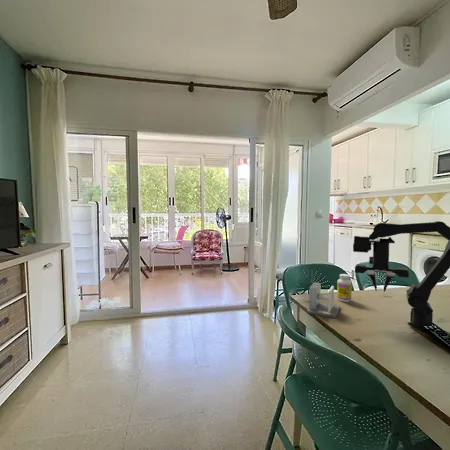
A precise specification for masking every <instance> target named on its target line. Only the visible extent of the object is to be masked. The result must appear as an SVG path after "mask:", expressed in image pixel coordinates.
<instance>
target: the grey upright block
mask: <svg viewBox="0 0 450 450" xmlns="http://www.w3.org/2000/svg"><path fill="white" fill-rule="evenodd" d="M318 299H321V300H324V301H325V300H326V301H328V302H327V304H328V313H330V312H331V310H332V308H333V306H334V305H335V286H334V285H331V287H330V288H329V290H328V295H327V294H321V295H320V294H318Z"/></svg>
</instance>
